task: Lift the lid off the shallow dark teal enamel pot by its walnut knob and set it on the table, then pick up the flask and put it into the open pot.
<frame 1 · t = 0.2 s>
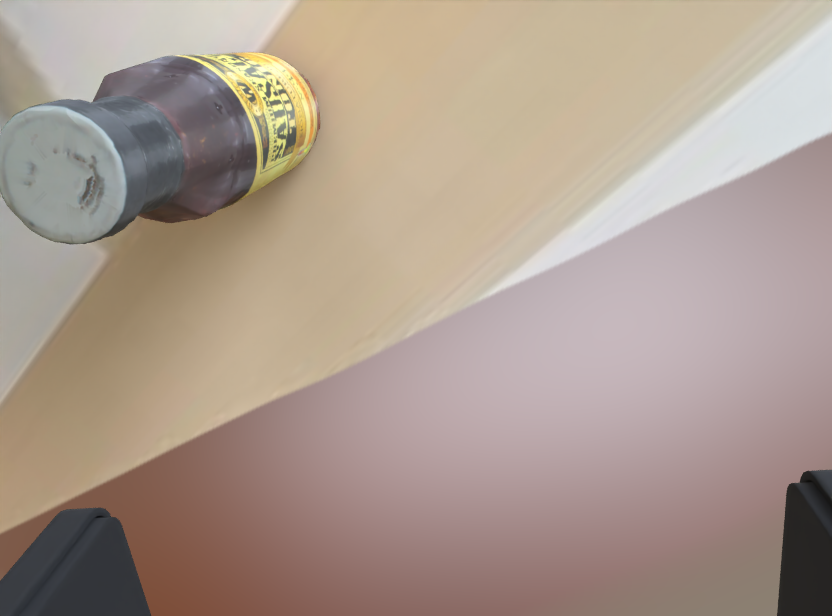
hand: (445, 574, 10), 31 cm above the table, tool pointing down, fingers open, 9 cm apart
sauce bottle: (266, 109, 39), on the table
when the fingers open (2 cm above the table, at t = 13.8 s): lid stays where it is, point 1 cm above the table.
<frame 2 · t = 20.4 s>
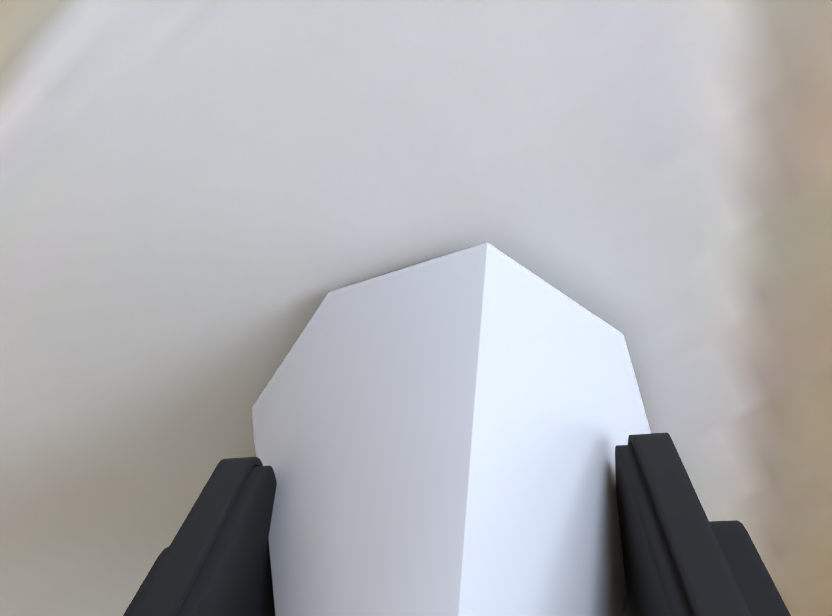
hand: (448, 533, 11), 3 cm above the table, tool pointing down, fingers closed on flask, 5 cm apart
flask: (455, 425, 14), on the table, touching gripper
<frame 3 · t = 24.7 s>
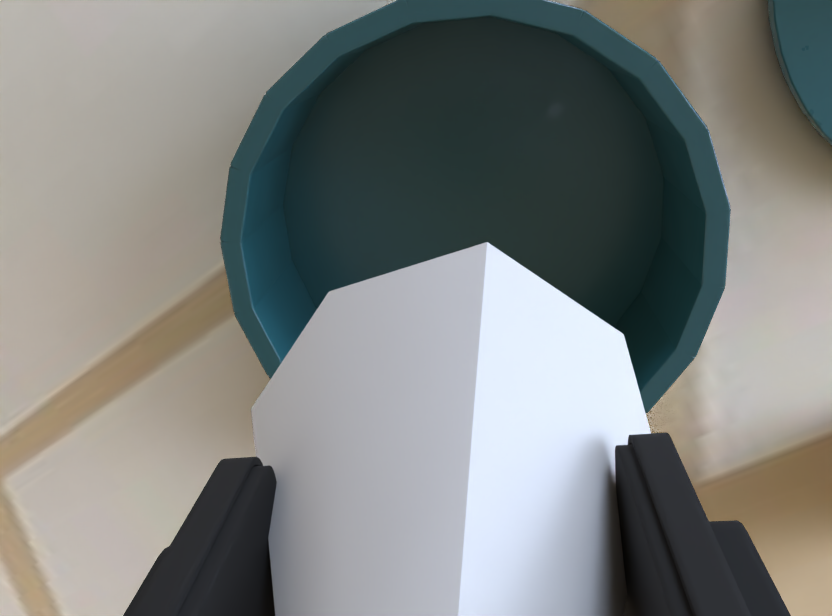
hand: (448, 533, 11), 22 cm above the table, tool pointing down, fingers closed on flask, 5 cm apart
pot: (470, 217, 31), on the table
flask: (455, 425, 14), point 19 cm above the table, touching gripper
when the fingers open (3 cm above the table, at t = 29.0 s): flask stays where it is, resting on pot.
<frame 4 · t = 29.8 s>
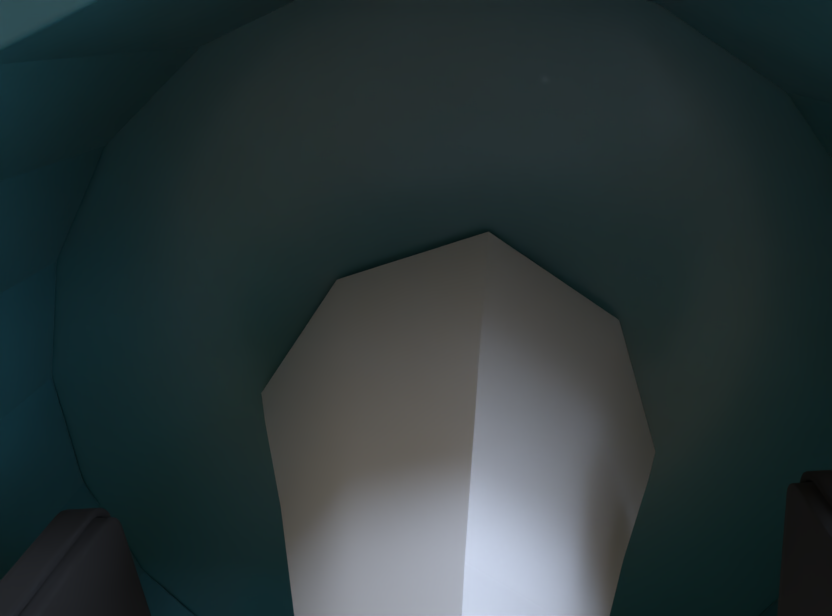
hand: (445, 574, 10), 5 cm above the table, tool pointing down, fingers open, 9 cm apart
pot: (453, 404, 15), on the table
flask: (457, 409, 14), resting on pot
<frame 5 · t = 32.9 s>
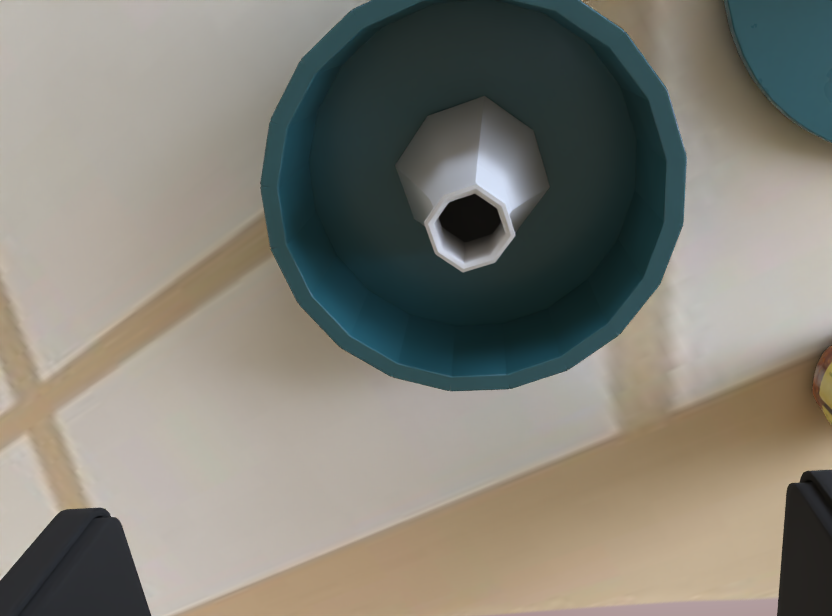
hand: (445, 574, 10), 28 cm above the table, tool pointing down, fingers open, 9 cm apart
pot: (470, 174, 36), on the table
flask: (472, 174, 36), resting on pot
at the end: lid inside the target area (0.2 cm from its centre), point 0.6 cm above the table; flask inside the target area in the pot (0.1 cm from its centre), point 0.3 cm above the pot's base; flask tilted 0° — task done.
